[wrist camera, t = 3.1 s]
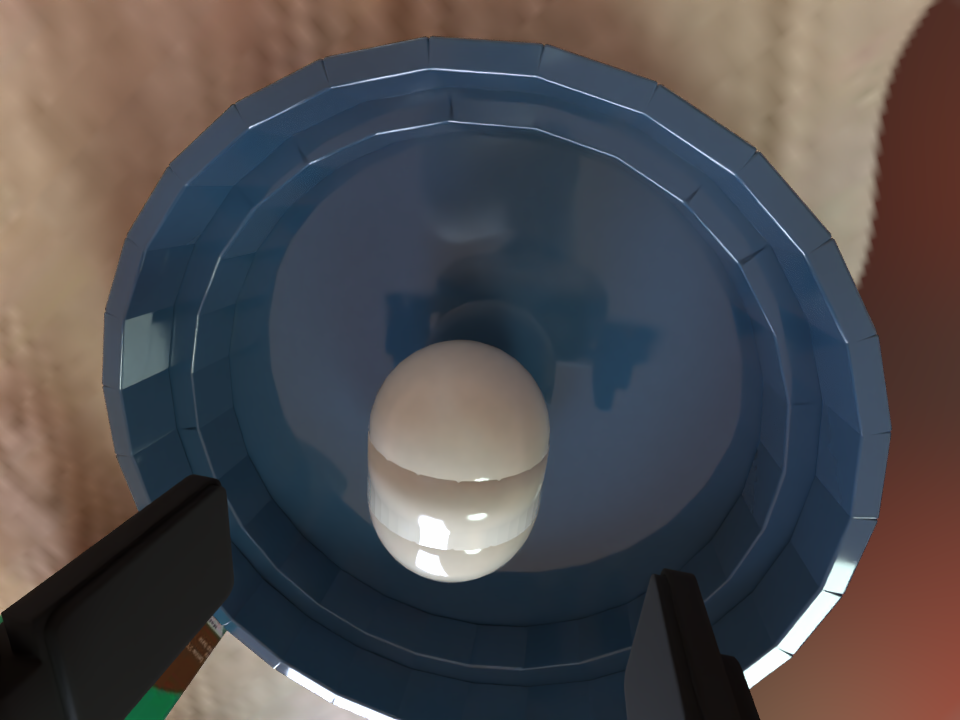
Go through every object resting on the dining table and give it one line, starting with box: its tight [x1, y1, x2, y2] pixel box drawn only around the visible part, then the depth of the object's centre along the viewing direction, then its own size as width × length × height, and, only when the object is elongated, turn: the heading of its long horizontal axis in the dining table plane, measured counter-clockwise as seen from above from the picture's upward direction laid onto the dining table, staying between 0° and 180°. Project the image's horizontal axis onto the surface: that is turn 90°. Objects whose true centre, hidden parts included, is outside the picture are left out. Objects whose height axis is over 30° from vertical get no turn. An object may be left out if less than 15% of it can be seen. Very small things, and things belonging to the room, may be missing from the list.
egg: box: [367, 339, 551, 583], centre depth 14 cm, size 7×5×5 cm
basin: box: [102, 36, 892, 720], centre depth 15 cm, size 20×20×4 cm
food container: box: [0, 615, 227, 720], centre depth 18 cm, size 12×6×10 cm, turn 117°
